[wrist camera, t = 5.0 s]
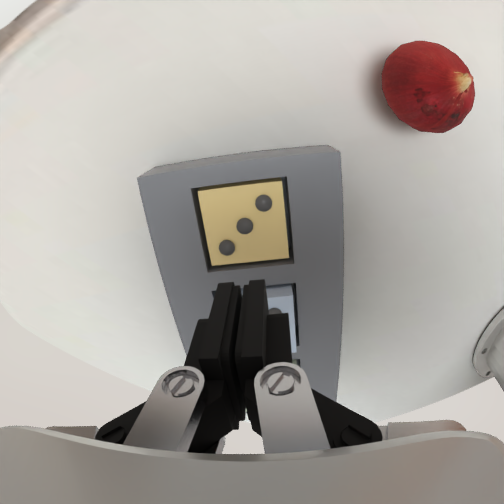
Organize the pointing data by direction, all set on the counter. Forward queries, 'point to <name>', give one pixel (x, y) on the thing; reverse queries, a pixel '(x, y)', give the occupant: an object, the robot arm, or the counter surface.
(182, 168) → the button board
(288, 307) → the tile two
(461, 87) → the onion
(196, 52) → the counter surface
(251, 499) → the robot arm
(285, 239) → the tile three
